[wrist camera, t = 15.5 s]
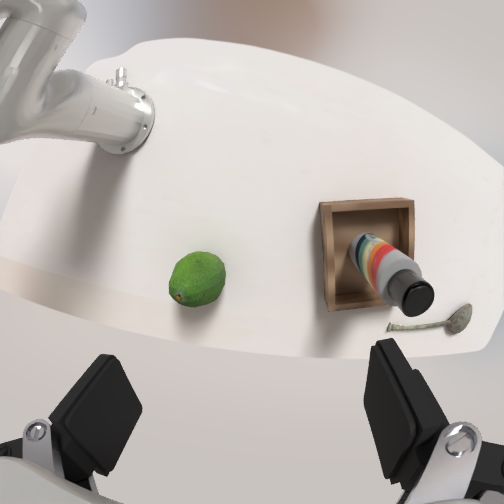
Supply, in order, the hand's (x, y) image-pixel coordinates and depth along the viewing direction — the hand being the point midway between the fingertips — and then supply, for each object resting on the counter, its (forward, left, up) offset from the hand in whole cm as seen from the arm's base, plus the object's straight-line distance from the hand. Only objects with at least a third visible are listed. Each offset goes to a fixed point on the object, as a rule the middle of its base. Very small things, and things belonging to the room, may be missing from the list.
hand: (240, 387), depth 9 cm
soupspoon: (+21, +31, -36) cm, 51 cm away
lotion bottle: (+5, +14, -34) cm, 37 cm away
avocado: (+6, -12, -35) cm, 37 cm away
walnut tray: (+5, +14, -35) cm, 38 cm away
